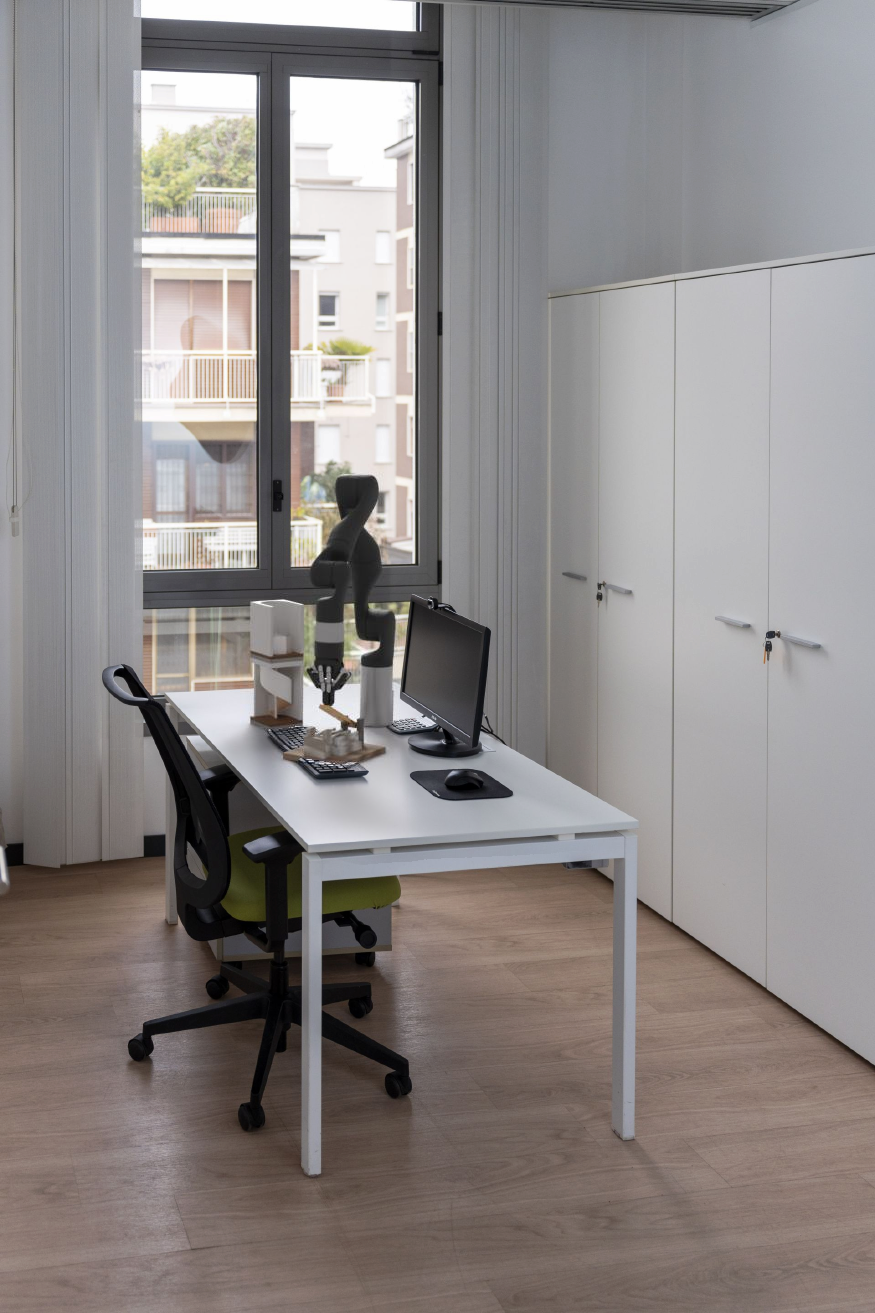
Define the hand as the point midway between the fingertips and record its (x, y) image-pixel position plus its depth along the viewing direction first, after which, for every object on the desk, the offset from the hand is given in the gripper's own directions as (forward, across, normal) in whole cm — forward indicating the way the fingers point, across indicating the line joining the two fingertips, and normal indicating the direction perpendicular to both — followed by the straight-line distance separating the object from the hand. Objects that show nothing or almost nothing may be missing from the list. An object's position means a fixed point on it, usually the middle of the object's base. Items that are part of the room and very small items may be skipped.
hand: (328, 705), depth 339 cm
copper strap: (+4, 0, -5) cm, 6 cm away
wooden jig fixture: (+14, 0, -4) cm, 14 cm away
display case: (+14, +33, -23) cm, 42 cm away
